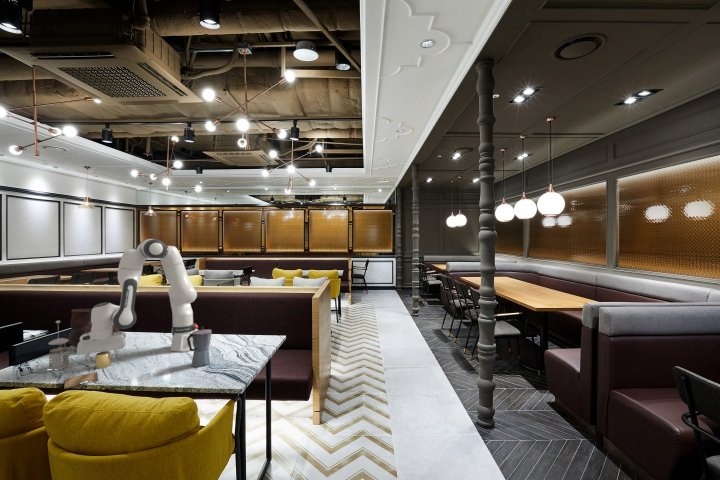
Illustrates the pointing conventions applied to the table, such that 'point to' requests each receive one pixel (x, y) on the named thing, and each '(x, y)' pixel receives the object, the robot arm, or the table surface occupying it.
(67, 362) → the french press
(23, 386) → the table surface
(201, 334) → the moka pot
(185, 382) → the table surface
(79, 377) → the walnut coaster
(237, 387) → the table surface
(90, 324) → the jug
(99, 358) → the ochre cup
